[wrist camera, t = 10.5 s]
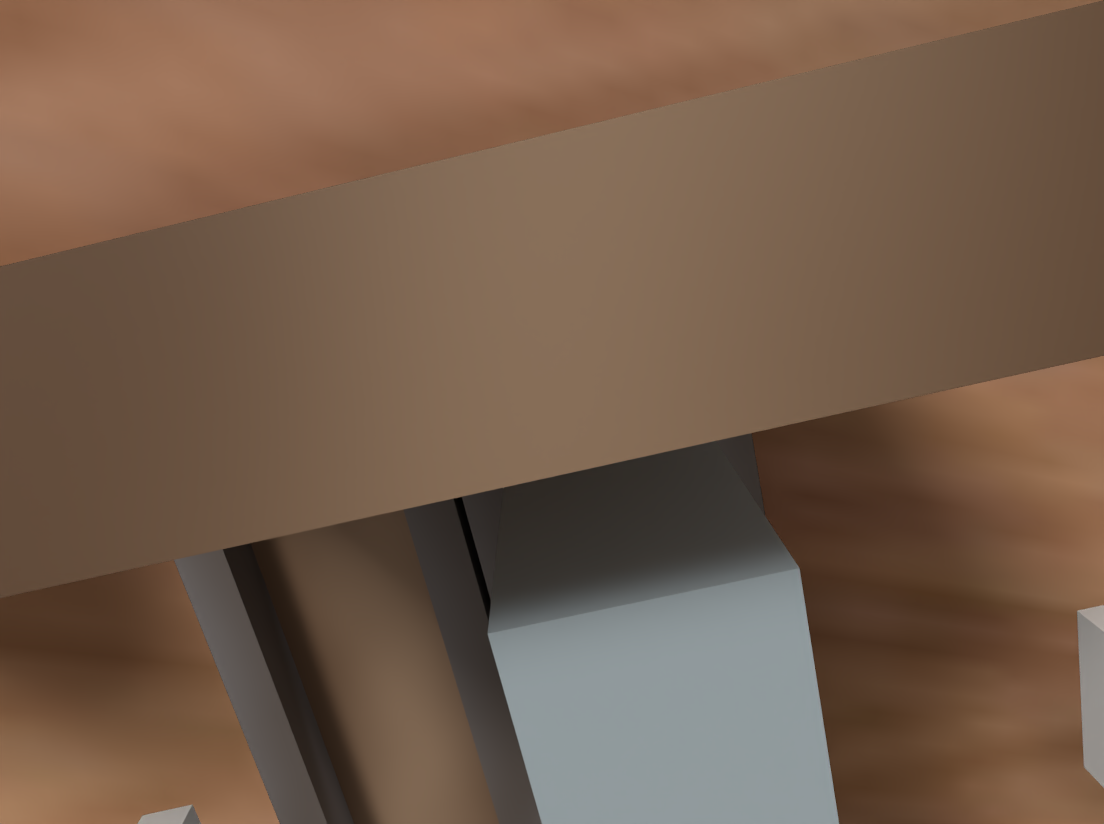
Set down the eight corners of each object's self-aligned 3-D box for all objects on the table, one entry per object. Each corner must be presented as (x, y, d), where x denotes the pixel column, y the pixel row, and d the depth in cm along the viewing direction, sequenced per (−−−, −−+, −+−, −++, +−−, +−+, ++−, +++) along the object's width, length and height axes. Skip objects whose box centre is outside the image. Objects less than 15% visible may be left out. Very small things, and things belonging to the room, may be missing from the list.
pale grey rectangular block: (604, 706, 22) (675, 1293, 10) (517, 357, 19) (486, 634, 8) (712, 684, 22) (906, 1253, 10) (641, 329, 19) (799, 568, 8)
